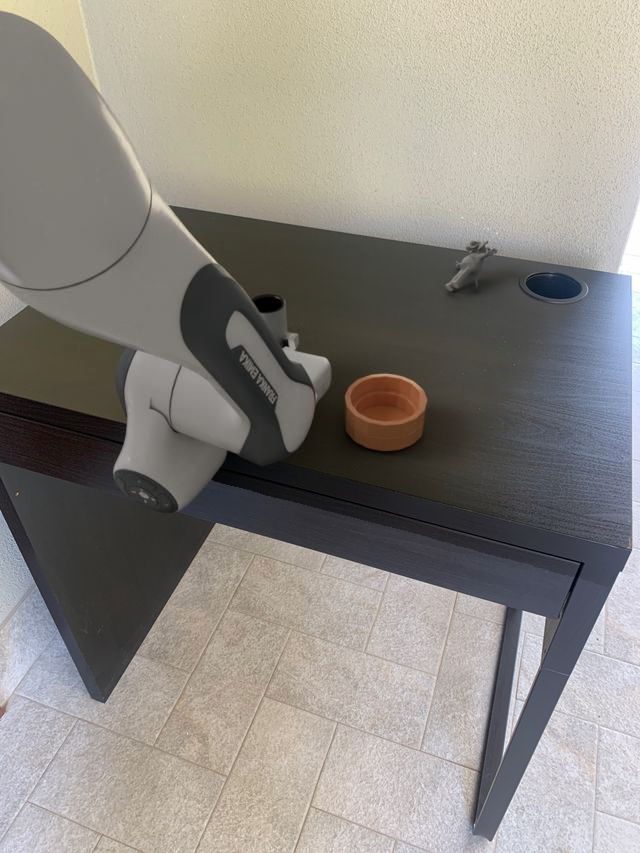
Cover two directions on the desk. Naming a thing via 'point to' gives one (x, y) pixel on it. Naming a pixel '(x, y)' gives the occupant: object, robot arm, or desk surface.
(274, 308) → the tall grey cup
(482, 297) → the desk surface
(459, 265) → the grey figurine
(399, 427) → the bowl
